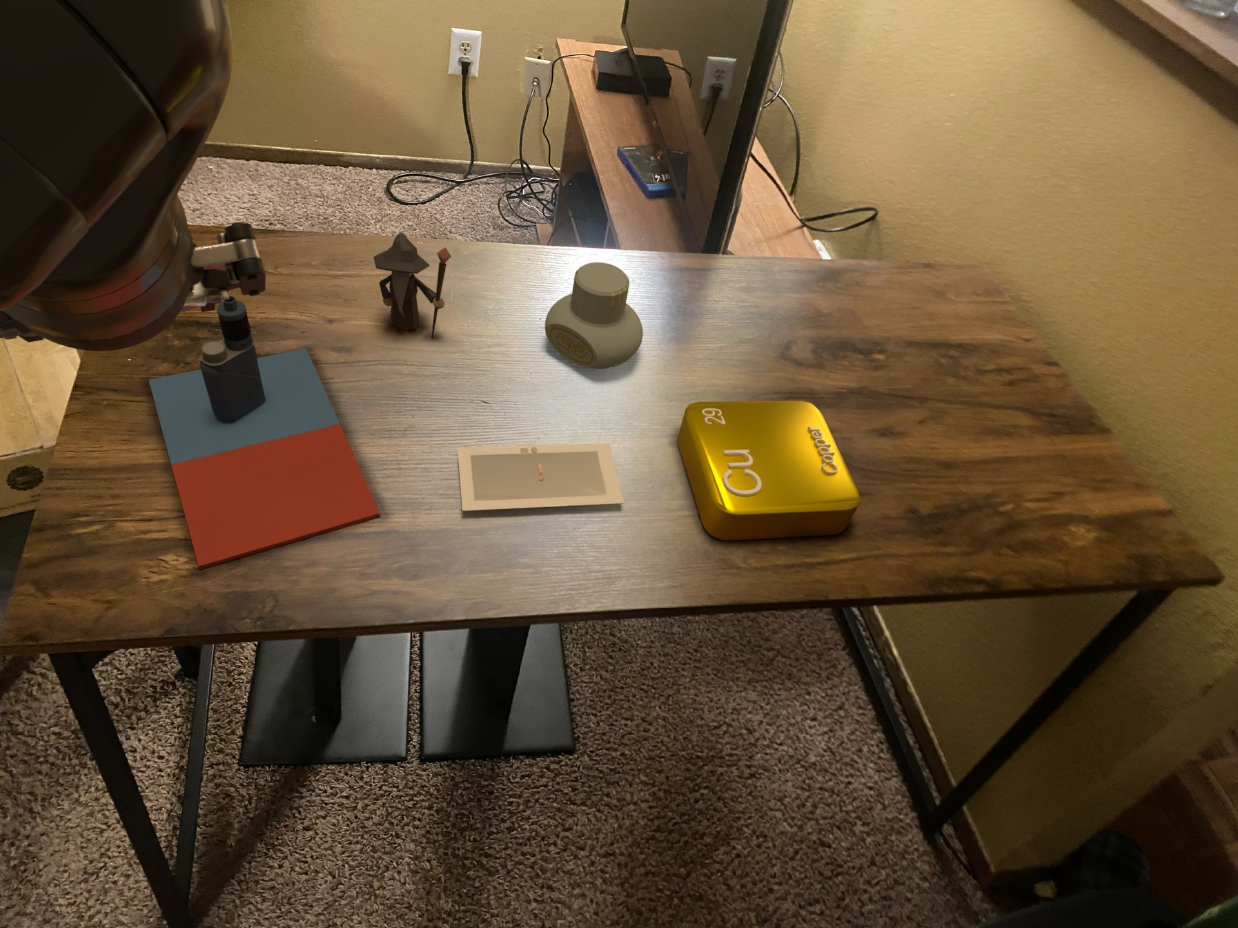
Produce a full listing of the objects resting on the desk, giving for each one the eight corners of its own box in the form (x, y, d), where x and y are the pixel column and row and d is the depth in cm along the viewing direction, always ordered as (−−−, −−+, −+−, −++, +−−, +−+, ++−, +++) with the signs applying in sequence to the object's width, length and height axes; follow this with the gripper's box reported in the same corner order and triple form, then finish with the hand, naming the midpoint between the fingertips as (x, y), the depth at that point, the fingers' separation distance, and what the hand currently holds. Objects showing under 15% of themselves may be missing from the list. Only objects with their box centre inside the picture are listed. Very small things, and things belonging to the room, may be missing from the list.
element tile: (852, 535, 82) (870, 504, 78) (706, 543, 78) (718, 511, 75) (803, 427, 91) (817, 395, 88) (672, 430, 88) (681, 396, 85)
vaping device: (272, 399, 82) (251, 299, 73) (227, 427, 78) (200, 326, 70) (253, 387, 82) (230, 287, 74) (208, 415, 79) (179, 313, 70)
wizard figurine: (372, 337, 91) (364, 242, 82) (383, 306, 95) (376, 212, 86) (449, 347, 92) (449, 253, 83) (456, 316, 95) (457, 223, 87)
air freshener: (649, 356, 96) (666, 284, 89) (607, 390, 91) (621, 317, 83) (575, 313, 99) (585, 240, 92) (530, 343, 94) (537, 269, 87)
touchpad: (622, 510, 79) (625, 495, 78) (462, 518, 76) (462, 502, 74) (607, 450, 85) (610, 435, 83) (457, 455, 81) (457, 439, 80)
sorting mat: (199, 569, 68) (198, 566, 68) (149, 383, 81) (148, 379, 81) (380, 516, 75) (379, 513, 74) (306, 351, 88) (306, 347, 87)
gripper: (248, 124, 34) (236, 221, 49) (-194, 162, 28) (-58, 260, 43) (299, 304, 35) (272, 347, 50) (-118, 378, 29) (-11, 403, 44)
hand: (119, 307), depth 46 cm, fingers open, 8 cm apart
